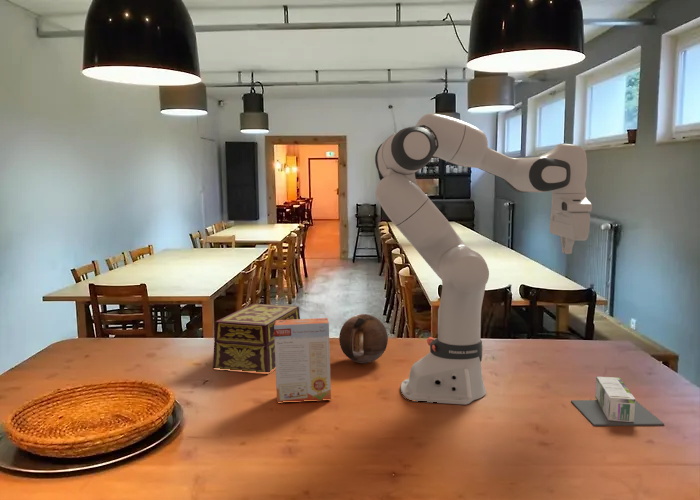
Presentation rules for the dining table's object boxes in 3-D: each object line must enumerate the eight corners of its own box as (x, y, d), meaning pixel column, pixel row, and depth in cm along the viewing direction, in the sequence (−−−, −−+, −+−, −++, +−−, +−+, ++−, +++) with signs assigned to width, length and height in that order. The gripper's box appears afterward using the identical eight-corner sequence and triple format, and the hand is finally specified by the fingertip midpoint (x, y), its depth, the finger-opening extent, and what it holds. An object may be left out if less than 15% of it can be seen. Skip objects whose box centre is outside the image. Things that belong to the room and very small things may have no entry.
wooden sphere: (357, 351, 189) (357, 307, 187) (396, 359, 180) (396, 313, 178) (329, 364, 177) (329, 316, 175) (370, 373, 168) (369, 323, 166)
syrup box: (618, 398, 146) (635, 423, 131) (593, 397, 147) (608, 421, 132) (619, 377, 145) (637, 399, 131) (595, 375, 146) (609, 397, 132)
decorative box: (254, 344, 199) (252, 302, 197) (303, 348, 194) (302, 305, 192) (212, 370, 173) (210, 322, 171) (268, 376, 168) (266, 326, 166)
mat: (593, 425, 131) (593, 424, 131) (571, 401, 145) (571, 400, 145) (664, 425, 131) (664, 423, 131) (634, 401, 145) (634, 399, 145)
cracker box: (330, 393, 153) (328, 316, 151) (331, 402, 147) (329, 322, 145) (277, 395, 152) (275, 318, 150) (276, 404, 146) (273, 324, 144)
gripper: (544, 202, 169) (543, 248, 170) (570, 205, 148) (568, 258, 150) (566, 201, 169) (564, 248, 170) (595, 205, 148) (593, 258, 150)
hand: (567, 253), depth 160 cm, fingers closed
